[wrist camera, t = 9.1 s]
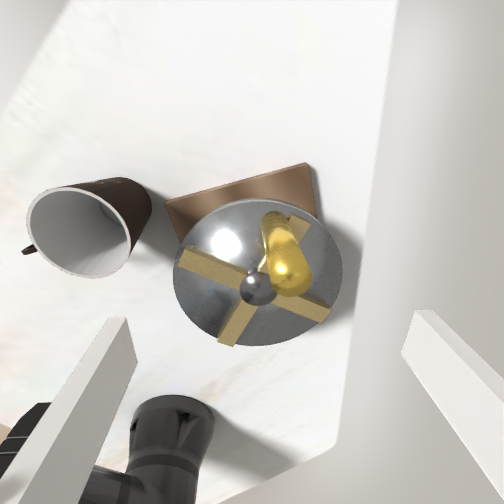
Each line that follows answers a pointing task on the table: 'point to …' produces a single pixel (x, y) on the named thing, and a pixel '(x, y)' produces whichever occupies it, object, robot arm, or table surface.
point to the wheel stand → (244, 196)
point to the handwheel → (257, 272)
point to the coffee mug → (88, 225)
